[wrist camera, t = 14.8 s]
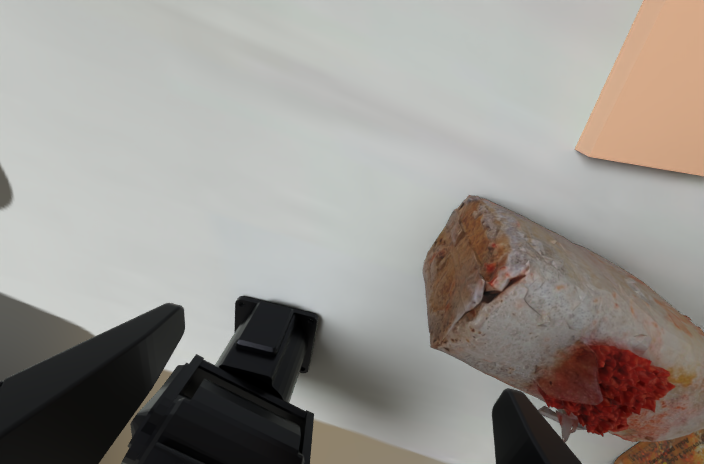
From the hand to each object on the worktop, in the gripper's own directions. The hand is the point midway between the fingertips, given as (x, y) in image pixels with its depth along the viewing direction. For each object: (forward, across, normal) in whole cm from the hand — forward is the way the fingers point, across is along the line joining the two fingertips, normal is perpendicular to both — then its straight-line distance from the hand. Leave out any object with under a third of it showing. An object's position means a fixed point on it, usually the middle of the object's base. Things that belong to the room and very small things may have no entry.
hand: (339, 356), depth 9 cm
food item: (+13, -11, +3) cm, 18 cm away
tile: (+12, -10, -9) cm, 18 cm away
